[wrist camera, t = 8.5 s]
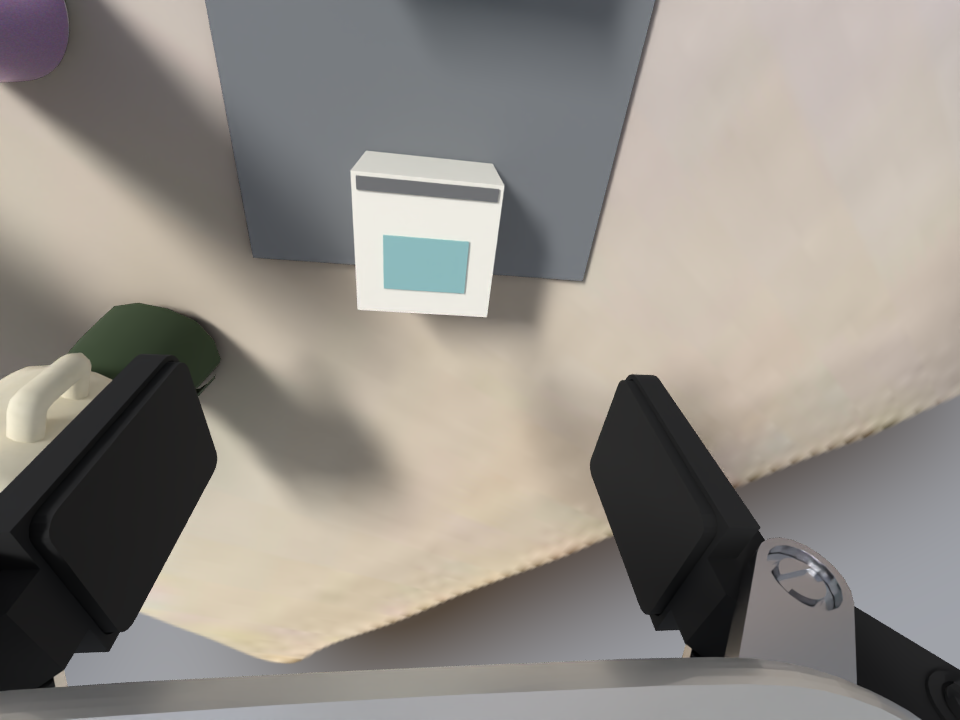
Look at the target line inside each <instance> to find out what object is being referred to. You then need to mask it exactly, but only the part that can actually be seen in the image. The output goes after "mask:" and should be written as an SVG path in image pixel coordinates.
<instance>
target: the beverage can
mask: <svg viewBox="0 0 960 720" xmlns="http://www.w3.org/2000/svg"><path fill="white" fill-rule="evenodd" d="M68 38H69V18H68V12H67V7H66V3H65V0H0V82H17V81H30V80H35V79H38V78H41V77H43V76H45V75H47V74H49V73H50V72H51V71H53V70H54V69H55V68H56V67H57V66H58V64H59V63H60V61H61V60H62V58H63V56H64V53H65V51H66V47H67V44H68Z"/></svg>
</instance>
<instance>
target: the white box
mask: <svg viewBox="0 0 960 720" xmlns="http://www.w3.org/2000/svg"><path fill="white" fill-rule="evenodd" d="M350 172H351V191H352V211H353V230H354V249H355V268H356V287H357V307H358V310H372V311H389V312H406V313H423V314H440V315H457V316H475V317H487V312H488V305H489V297H490V290H491V282H492V275H493V267H494V260H495V252H496V245H497V238H498V230H499V223H500V215H501V208H502V200H503V193H504V184H503V182H502V180H501V178H500V176H499V174H498V173H497V171H496V169H495V167H494V165H493V164H491V163H481V162H471V161H462V160H452V159H442V158H433V157H423V156H414V155H404V154H394V153H385V152H375V151H365V153H364V154H363V155H362V156H361V158H360V159H359V160H358V162H357V163H356V164H355V165H354V167H353V168H352V169H351V170H350Z"/></svg>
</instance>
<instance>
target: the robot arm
mask: <svg viewBox="0 0 960 720" xmlns="http://www.w3.org/2000/svg"><path fill="white" fill-rule="evenodd" d="M216 464H217V453H216V450H215V447H214V444H213V441H212V438H211V435H210V432H209V429H208V426H207V423H206V419H205V416H204V413H203V410H202V407H201V404H200V401H199V398H198V395H197V392H196V389H195V386H194V383H193V380H192V377H191V374H190V371H189V368H188V366H187V365H186V364H185V363H183V362H180V361H179V359H178V358H177V357H176V356H173V355H161V354H139V355H138V356H136V357H135V358H134V359H133V360H132V361H131V362H130V363H129V364H128V365H127V366H126V367H125V368H124V369H123V370H122V371H121V372H120V373H119V374H118V375H117V376H116V377H115V378H114V379H113V380H112V381H111V382H110V383H109V384H108V385H107V386H106V387H105V388H104V389H103V390H102V391H101V392H100V393H99V394H98V395H97V396H96V397H95V398H94V399H93V400H92V401H91V402H90V403H89V404H88V405H87V406H86V407H85V408H84V409H83V410H82V411H81V412H80V413H79V414H78V415H77V416H76V417H75V418H74V419H73V420H72V421H71V422H70V423H69V424H68V425H67V426H66V427H65V428H64V429H63V430H62V431H61V432H60V433H59V434H58V435H57V436H56V437H55V438H54V439H53V440H52V441H51V442H50V443H49V444H48V445H47V446H46V447H45V448H44V449H43V450H42V451H41V452H40V453H39V454H38V455H37V456H36V457H35V458H34V459H33V461H32V462H31V463H30V464H29V465H28V466H27V467H26V468H25V469H24V470H23V471H22V472H21V473H20V474H19V475H18V476H17V477H16V478H15V479H14V480H13V481H12V482H11V483H10V484H9V485H8V486H7V487H6V488H5V489H4V490H3V491H2V492H1V493H0V720H960V670H959V669H957V668H956V667H954V666H952V665H951V664H949V663H947V662H945V661H944V660H942V659H941V658H939V657H937V656H936V655H934V654H932V653H931V652H929V651H928V650H926V649H924V648H922V647H921V646H919V645H918V644H916V643H914V642H913V641H911V640H909V639H908V638H906V637H904V636H903V635H901V634H899V633H898V632H896V631H894V630H893V629H891V628H889V627H888V626H886V625H884V624H883V623H881V622H879V621H878V620H876V619H875V618H873V617H871V616H870V615H868V614H866V613H864V612H863V611H861V610H859V609H858V608H856V607H855V606H854V601H853V597H852V593H851V590H850V588H849V587H848V585H847V583H846V581H845V579H844V578H843V577H842V576H841V574H840V573H839V572H838V571H837V570H836V568H835V567H834V566H833V565H832V564H831V563H830V562H828V561H827V560H826V559H825V558H824V557H822V556H821V555H820V554H819V553H817V552H815V551H814V550H812V549H810V548H809V547H807V546H805V545H803V544H801V543H798V542H796V541H794V540H790V539H784V538H780V537H779V538H769V539H767V540H766V541H765V540H764V538H763V537H762V535H761V534H760V532H759V531H758V530H759V529H760V526H759V525H758V523H757V522H756V520H755V519H754V517H753V516H752V514H751V513H750V511H749V510H748V509H747V507H746V506H745V504H744V503H743V501H742V500H741V498H740V497H739V495H738V494H737V492H736V491H735V489H734V488H733V487H732V485H731V484H730V482H729V481H728V479H727V478H726V476H725V475H724V473H723V472H722V470H721V469H720V468H719V466H718V465H717V463H716V462H715V460H714V459H713V457H712V456H711V454H710V453H709V451H708V450H707V449H706V447H705V446H704V444H703V443H702V441H701V440H700V438H699V437H698V435H697V434H696V432H695V431H694V430H693V428H692V427H691V425H690V424H689V422H688V421H687V419H686V418H685V416H684V415H683V413H682V412H681V411H680V409H679V408H678V406H677V405H676V403H675V402H674V400H673V399H672V397H671V396H670V394H669V393H668V391H667V390H666V389H665V387H664V386H663V384H662V383H661V381H660V380H659V379H658V378H657V376H654V375H634V374H632V375H629V376H628V377H627V378H626V380H622V381H620V382H619V384H618V387H617V389H616V392H615V395H614V398H613V400H612V403H611V406H610V409H609V411H608V414H607V417H606V419H605V422H604V425H603V428H602V430H601V433H600V436H599V439H598V441H597V444H596V447H595V450H594V452H593V455H592V458H591V461H590V470H591V475H592V478H593V481H594V483H595V486H596V489H597V491H598V494H599V497H600V500H601V502H602V505H603V508H604V510H605V513H606V516H607V519H608V521H609V524H610V527H611V530H612V532H613V535H614V537H615V540H616V543H617V546H618V548H619V551H620V554H621V557H622V559H623V562H624V565H625V568H626V570H627V573H628V576H629V578H630V581H631V584H632V587H633V589H634V592H635V595H636V597H637V600H638V603H639V605H640V608H641V610H642V611H643V612H644V613H645V614H648V615H650V617H651V620H652V623H653V625H654V628H655V630H656V631H660V630H661V631H663V630H680V632H681V635H682V637H683V640H684V642H685V644H686V645H685V648H684V652H683V656H682V658H650V659H616V660H591V661H566V662H544V663H519V664H494V665H473V666H450V667H429V668H407V669H385V670H365V671H343V672H322V673H300V674H281V675H262V676H242V677H222V678H203V679H185V680H164V681H145V682H126V683H112V684H97V685H83V686H69V687H68V686H67V681H66V677H65V672H64V669H65V667H66V666H67V664H68V662H69V661H70V659H71V658H72V656H73V654H74V653H89V652H109V651H110V649H111V647H112V645H113V644H114V642H115V640H116V638H117V636H118V635H119V633H120V632H124V631H126V630H127V629H128V628H129V627H130V626H131V625H132V624H133V622H134V620H135V618H136V617H137V615H138V613H139V611H140V609H141V607H142V606H143V604H144V602H145V600H146V598H147V596H148V594H149V592H150V591H151V589H152V587H153V585H154V583H155V581H156V579H157V577H158V576H159V574H160V572H161V570H162V568H163V566H164V564H165V562H166V561H167V559H168V557H169V555H170V553H171V551H172V549H173V547H174V546H175V544H176V542H177V540H178V538H179V536H180V534H181V532H182V531H183V529H184V527H185V525H186V523H187V521H188V519H189V517H190V516H191V514H192V512H193V510H194V508H195V506H196V504H197V502H198V501H199V499H200V497H201V495H202V493H203V491H204V489H205V487H206V486H207V484H208V482H209V480H210V478H211V476H212V474H213V472H214V470H215V468H216Z"/></svg>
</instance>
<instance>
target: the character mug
mask: <svg viewBox="0 0 960 720" xmlns="http://www.w3.org/2000/svg"><path fill="white" fill-rule="evenodd" d="M139 354H161V355H173V356H176V357H177V358H178V359H179V361H180V362H183V363H185V364H186V365H187V366H188V368H189V371H190V374H191V377H192V380H193V383H194V386H195V389H196V388H197V387H198V386H199V385H200V384H201V383H202V382H203V381H204V380H205V379H206V378H207V377H208V376H209V375H210V373H211V372H212V371H213V370H214V369H215V368H216V367H217V366H218V365H219V363H220V360H221V359H220V356H219V353H218V350H217V347H216V344H215V342H214V340H213V339H212V338H211V336H210V335H209V334H208V333H207V332H206V331H205V330H204V329H203V328H202V327H201V326H200V325H199V324H198V323H197V321H195V320H192V319H190V318H188V317H185V316H183V315H181V314H179V313H176V312H174V311H172V310H169V309H166V308H161V307H157V306H152V305H147V304H142V303H134V304H127V305H120V306H114V307H113V308H112V309H111V310H110V311H109V312H108V313H106V314H105V315H104V316H103V317H102V318H101V319H100V320H99V321H98V322H97V323H96V324H95V325H94V326H93V327H92V328H91V329H90V330H89V331H88V332H87V333H86V334H85V335H84V336H83V337H82V338H81V339H80V340H79V341H78V342H77V343H76V344H75V346H74V347H73V348H72V349H71V350H70V351H69V353H68V354H66V355H64V356H62V357H60V358H59V359H58V360H56V361H55V362H54V363H52V364H51V365H42V366H27V367H25V368H23V369H20V370H18V371H16V372H13V373H11V374H10V375H8V376H6V377H4V378H3V379H1V380H0V493H1V492H2V491H3V490H4V489H5V488H6V487H7V486H8V485H9V484H10V483H11V482H12V481H13V480H14V479H15V478H16V477H17V476H18V475H19V474H20V473H21V472H22V471H23V470H24V469H25V468H26V467H27V466H28V465H29V464H30V463H31V462H32V461H33V459H34V458H35V457H36V456H37V455H38V454H39V453H40V452H41V451H42V450H43V449H44V448H45V447H46V446H47V445H48V444H49V443H50V442H51V441H52V440H53V439H54V438H55V437H56V436H57V435H58V434H59V433H60V432H61V431H62V430H63V429H64V428H65V427H66V426H67V425H68V424H69V423H70V422H71V421H72V420H73V419H74V418H75V417H76V416H77V415H78V414H79V413H80V412H81V411H82V410H83V409H84V408H85V407H86V406H87V405H88V404H89V403H90V402H91V401H92V400H93V399H94V398H95V397H96V396H97V395H98V394H99V393H100V392H101V391H102V390H103V389H104V388H105V387H106V386H107V385H108V384H109V383H110V382H111V381H112V380H113V379H114V378H115V377H116V376H117V375H118V374H119V373H120V372H121V371H122V370H123V369H124V368H125V367H126V366H127V365H128V364H129V363H130V362H131V361H132V360H133V359H134V358H135V357H136V356H138V355H139ZM215 376H216V375H215ZM215 376H214V377H213V378H212V379H211V380H210V381H209V382H208V383H207V384H206V385H204V386H203V387H201V388H199V389H196V392H197V395H198V396H199V395H200V394H201V393H202V392H203V391H204V389H205V388H206V387H207V386H208V385H209V384H210V383H211V382H212V381H213V380H214V379H215Z"/></svg>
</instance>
